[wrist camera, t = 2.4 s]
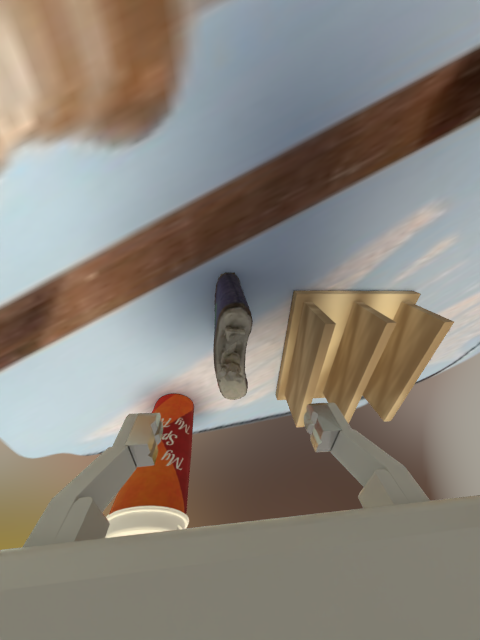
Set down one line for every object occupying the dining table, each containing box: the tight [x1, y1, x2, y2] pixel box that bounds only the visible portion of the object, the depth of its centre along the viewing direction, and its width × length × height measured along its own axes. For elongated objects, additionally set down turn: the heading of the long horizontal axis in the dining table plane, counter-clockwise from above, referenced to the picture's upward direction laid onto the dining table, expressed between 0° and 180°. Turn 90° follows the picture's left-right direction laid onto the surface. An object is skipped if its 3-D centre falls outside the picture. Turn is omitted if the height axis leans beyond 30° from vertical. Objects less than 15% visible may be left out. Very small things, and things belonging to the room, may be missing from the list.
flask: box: [214, 273, 253, 400], centre depth 18 cm, size 9×3×11 cm, turn 178°
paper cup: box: [105, 394, 194, 538], centre depth 23 cm, size 8×8×14 cm
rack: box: [276, 291, 454, 427], centre depth 24 cm, size 15×17×6 cm
